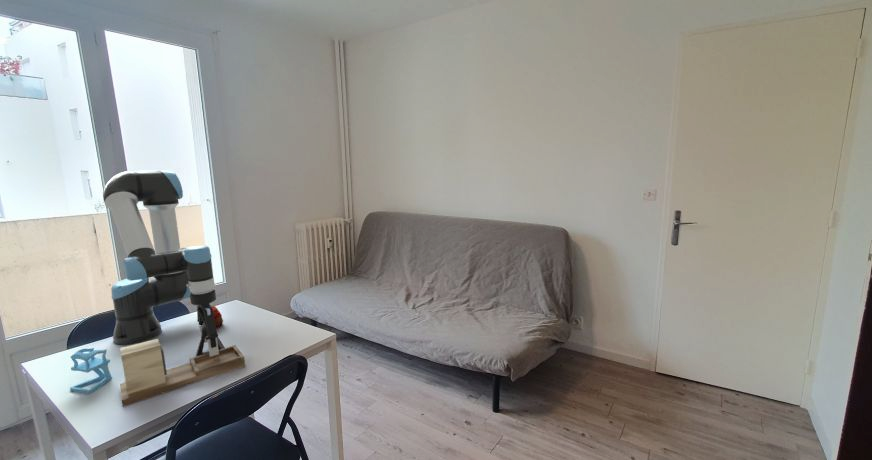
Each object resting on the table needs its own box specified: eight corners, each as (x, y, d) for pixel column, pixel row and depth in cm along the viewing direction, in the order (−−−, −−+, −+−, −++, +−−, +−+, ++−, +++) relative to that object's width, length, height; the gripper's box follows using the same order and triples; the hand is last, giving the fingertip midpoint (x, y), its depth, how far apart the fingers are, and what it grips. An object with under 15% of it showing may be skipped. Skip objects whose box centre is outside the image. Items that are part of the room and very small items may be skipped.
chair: (118, 378, 121) (112, 343, 119) (89, 393, 113) (82, 356, 111) (99, 376, 123) (93, 341, 121) (69, 390, 115) (62, 353, 113)
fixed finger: (126, 385, 114) (120, 348, 112) (165, 373, 120) (160, 337, 118) (127, 394, 109) (121, 355, 107) (168, 381, 116) (162, 344, 114)
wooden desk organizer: (120, 389, 115) (119, 379, 115) (236, 354, 136) (235, 345, 135) (122, 406, 107) (120, 395, 106) (245, 366, 128) (244, 356, 127)
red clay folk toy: (216, 331, 155) (211, 296, 152) (199, 331, 155) (194, 296, 152) (226, 323, 162) (222, 290, 160) (210, 324, 162) (205, 290, 160)
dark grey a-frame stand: (195, 362, 131) (190, 329, 129) (196, 354, 136) (192, 323, 134) (225, 355, 135) (221, 323, 133) (225, 348, 140) (221, 317, 138)
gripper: (183, 285, 138) (191, 340, 142) (196, 302, 120) (205, 365, 123) (207, 280, 143) (213, 334, 147) (223, 297, 124) (230, 357, 128)
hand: (209, 348), depth 135 cm, fingers open, 13 cm apart
